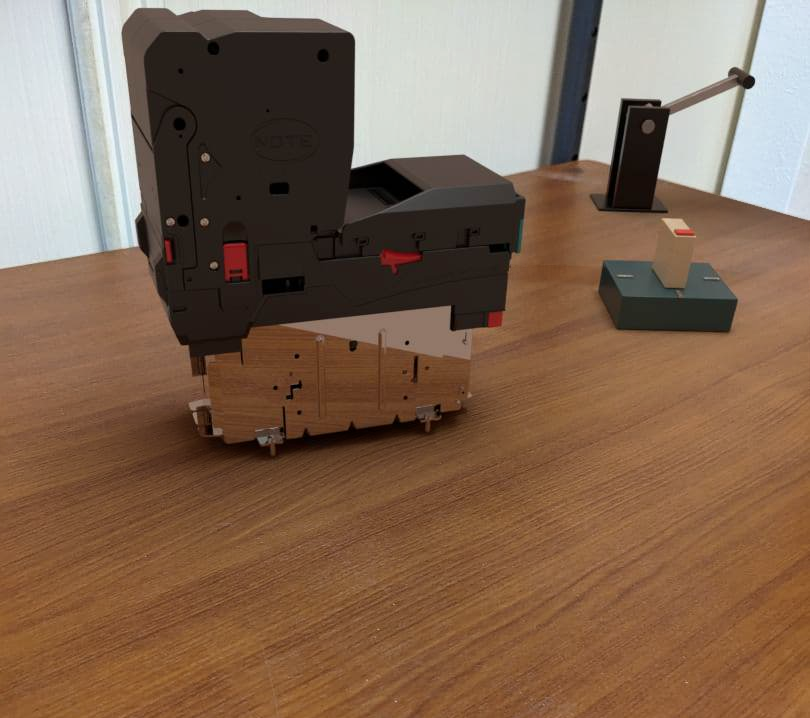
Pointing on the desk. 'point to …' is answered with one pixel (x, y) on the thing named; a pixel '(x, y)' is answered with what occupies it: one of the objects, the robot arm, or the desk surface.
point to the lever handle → (712, 90)
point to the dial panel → (666, 298)
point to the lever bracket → (635, 158)
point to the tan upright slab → (673, 253)
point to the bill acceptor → (303, 232)
